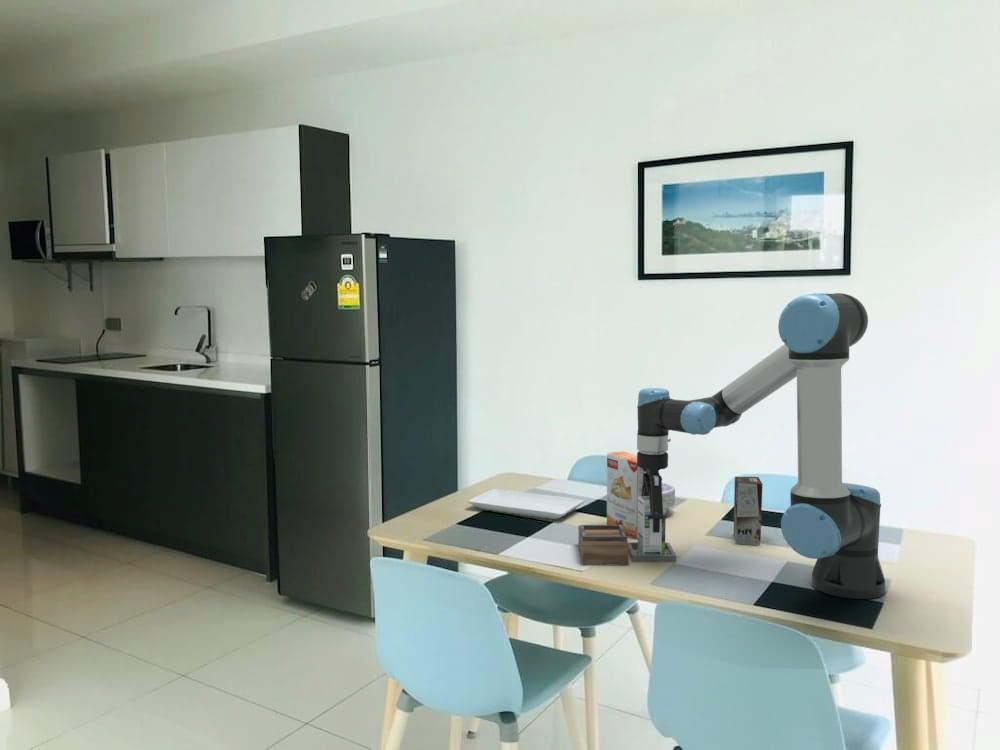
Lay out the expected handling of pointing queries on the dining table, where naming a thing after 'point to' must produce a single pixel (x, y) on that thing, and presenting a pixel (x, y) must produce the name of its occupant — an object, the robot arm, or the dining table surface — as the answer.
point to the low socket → (651, 558)
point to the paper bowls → (668, 495)
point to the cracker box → (623, 491)
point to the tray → (525, 503)
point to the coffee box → (747, 510)
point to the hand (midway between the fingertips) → (651, 536)
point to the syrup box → (645, 528)
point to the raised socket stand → (603, 544)
